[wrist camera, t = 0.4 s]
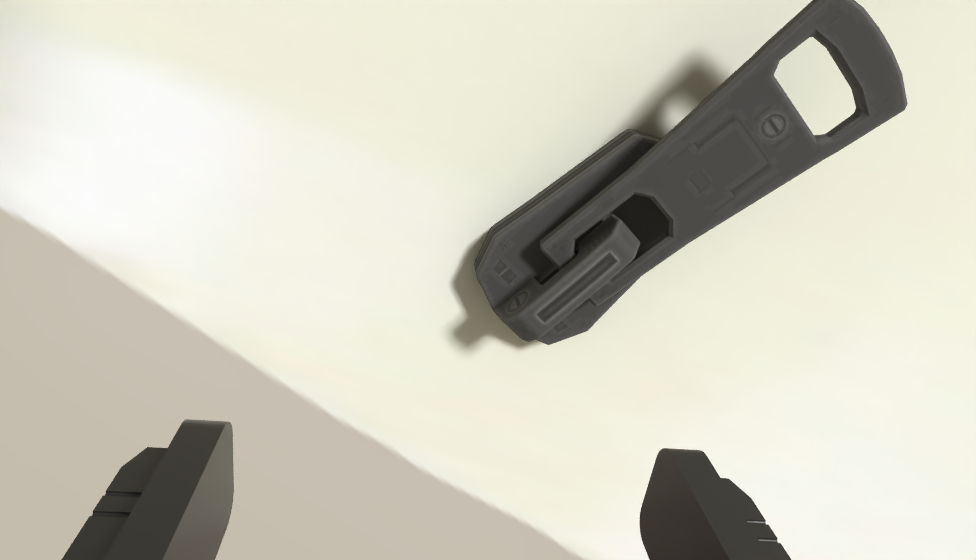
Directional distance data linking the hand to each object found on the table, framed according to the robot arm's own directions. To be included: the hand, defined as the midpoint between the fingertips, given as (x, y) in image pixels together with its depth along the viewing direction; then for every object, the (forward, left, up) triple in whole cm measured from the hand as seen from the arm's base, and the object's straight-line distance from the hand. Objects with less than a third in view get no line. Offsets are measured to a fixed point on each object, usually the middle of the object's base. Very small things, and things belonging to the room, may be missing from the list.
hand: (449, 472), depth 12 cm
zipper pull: (-1, +13, -29) cm, 32 cm away
